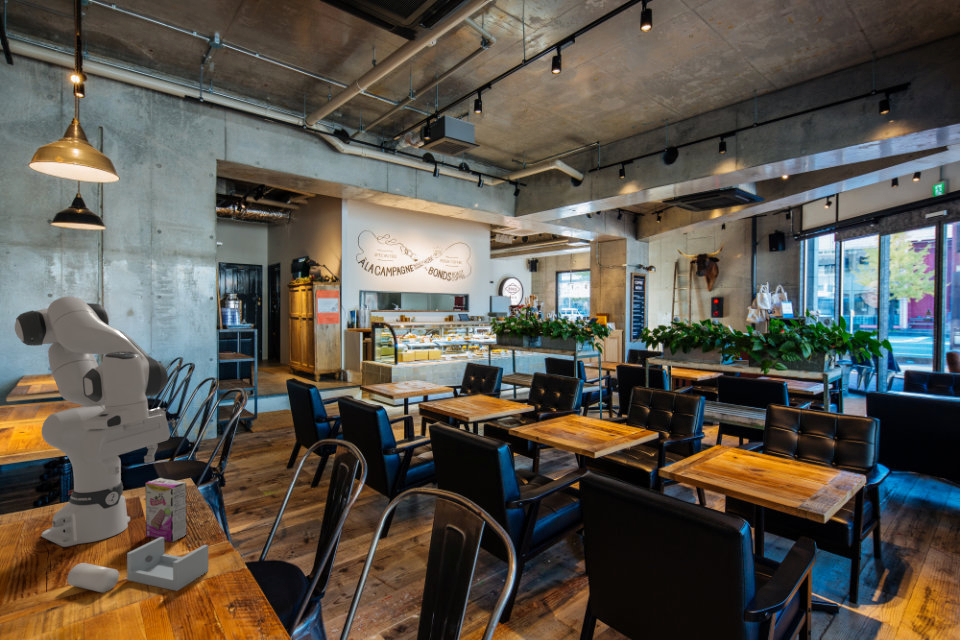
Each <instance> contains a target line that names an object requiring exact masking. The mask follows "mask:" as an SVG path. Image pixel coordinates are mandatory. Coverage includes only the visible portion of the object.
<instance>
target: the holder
mask: <svg viewBox="0 0 960 640" xmlns="http://www.w3.org/2000/svg"><path fill="white" fill-rule="evenodd" d="M126 557H127V558H126V569H127V570H126V572H127V573H126V575H127V576H126V577H127V579H126V580H127V581H129V582H130V581H131V582H134V583H140V584H143V585H148V586H154V587H158V588H163V589H165V590H166V589H167V590H170V591H171V590H172V591H175V592H178V591H179V590H181V589H183V588H185V587H186V586H187V585H189V584H191V583H193V582H194V581H195V580H197V579H199V578H201V577H202V576H203V575H205V574H206V572H207V573H208V572H209V544H203V545H201V546H200V547H198V548H196V549H194V550H192V551H191V552H189V553H187V554H185V555H183V556H179V555H173V554H167V553H165V541H164V537H159V538H157V539H155V538H154V540H151V541H149V542H147V543H145V544H143V545H141V546H139V547H137V548H135V549H133V550H130V551H129V552H127V553H126ZM204 573H205V574H204ZM201 575H202V576H201ZM198 577H199V578H198ZM196 578H197V579H196Z"/></svg>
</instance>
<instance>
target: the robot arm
mask: <svg viewBox="0 0 960 640" xmlns="http://www.w3.org/2000/svg"><path fill="white" fill-rule="evenodd" d="M109 324H110V317H109V314H108V313H107V311H106V309H105V307H104V306H103V305H101V304H99V303H93V302H92V303H89V302H87V303H86V302H85V301H84V299H81V298H78V297H75V296H63V297H62V296H61V297H59V298H57V299H55V300H54V301H52V302H50V304H49V306H48V308H47V307H46V308H42V309H39V310H29V311H25V312H23V313H20V314H19V315H18V316H17V317H16V319H15V323H14V331H15V332H14V333H15V335H16V337H17V338H18V339H19V340H20V341H21V342H22V343H23V344H25V345H26V346H34V347H35V346H42V345H46V344H48V345H50V344H51V345H50V346H49V348H48V351H47V355H48V363H49V367H50V371H51V374H52V377H53V381H54V382H55V385H56V387H57V389H58V392H59V395H60V396H61V397H62V398H63V400H65V401H66V402H70V403H72V404H73V403H74V404H76V405H81V406H77V407H72V408H71V407H70V408H66V409H63V410H61V411H58V412H54V413H51V414H49V415H48V417H46V418H45V420H44V421H43V423H42V426H41V436H42V438H43V440H44V442H45V443H47V445H49V446H51V447H52V448H56V449H58V450H60V451H61V452H62V453H64V455H65V456H67V458H68V459H69V461H70V464H71V467H72V472H73V489H70V490H68V491H67V492H68V494H67V495H68V496H69V495H70V497H69V501H68V502H67V503H66V504H65V505H64V506H62V507H61V508H60V509H59V510H57V512H55V513H54V514H53V517H52V522H51V523H52V527H50V528H47V529H46V530H44V531H43V532H41V537H42V538H44V539H46V540H48V541H50V542H52V543H54V544H56V545H57V546H60V547H62V548H63V547H64V548H66V547H71V546H76V545H78V544H79V545H80V544H87V543H94V542H98V541H102V540H106V539H108V538H111V537H114V536H117V535H119V534H121V533H122V532H124V531H125V530H126V529H127V528H128V527H129V525H128V524H129V522H130V521H131V516H128V512H127V511H128V510H127V503H126V502H127V501H126V498H125V496H124V495H123V493H124V490H123V489H124V486H123V482H122V480H121V479H122V475H121V473H122V470H121V469H122V468H121V467H122V465H121V463H122V462H121V457H119V456H120V455H124V454H126V453H130V452H133V451H136V450H141V449H143V448H146V449H148V450H147V453H146V455H144V456H143V459H144V460H143V461H144V463H145V464H150V463H153V462H154V461H155V456H156V455H155V454H156V453H157V451H158V444H159V443H162V442H166V441H168V440H169V439H170V436H171V432H170V427H169V423H168V420H167V417H166V414H167V413H166V411H165V410H164V409H162V408H161V407H156V408H153V409H149V404H148V403H149V402H148V397H153V396H154V397H155V396H157V395H158V394H160V393H161V392H162V390H164V388H166V386H167V384H168V380H169V375H168V371H167V369H166V367H165V366H164V365H163V364H161V363H160V362H159V361H157V360H156V359H154V358H153V357H151V356H150V355H149V354H148V353H147V352H146V351H145V350H144V349H143V348H142V347H141V346H140V345H139V344H138V343H137V342H136V341H135V340H134V339H132V338H131V337H130V336H129V335H128V334H127V333H125V332H124V331H121V330H119V329H117V328H114V327H113V326H110V325H109ZM94 355H104V356H102V360H101V361H102V362H101V363H100V364H98V361H97V359H96V358H95V356H94Z"/></svg>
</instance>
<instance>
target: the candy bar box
mask: <svg viewBox="0 0 960 640" xmlns="http://www.w3.org/2000/svg"><path fill="white" fill-rule="evenodd" d="M187 523H188V522H187V482H185V481H179V480H174V479H168V478H163V477H159V478H156V479H152V480H148V481H147V482H145V537H147V538H150V539H151V538H152V539H154V540H155V539H157V538H159V537H164V542H170V543H174V541H175V542H177V541H178V539H179V540H180V538H181V539H183V538H185V537H186V536H187V534H188V533H187V530H188V527H187ZM185 535H186V536H185ZM184 536H185V537H184ZM182 537H183V538H182ZM176 540H177V541H176Z"/></svg>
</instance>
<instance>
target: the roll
mask: <svg viewBox="0 0 960 640" xmlns="http://www.w3.org/2000/svg"><path fill="white" fill-rule="evenodd" d="M119 578H120V572H119V571H118V569H115V568H109V567H106V566H102V565H97V564H91V563H88V562H87V563H86V562H81V563H77V564H76V565H75V566H73V567H72V568H71V570H70V571H69V573H68V575H67V578H66V579H67V584H68V585H70V586H73V587H75V588H76V587H77V588H80V589H84V590H85V589H86V590H90V591H94V592H98V593H106V591H107V592H109V591H110V590H112V589H113V588H115V586H116V585H117V583H118V582H119Z"/></svg>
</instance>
